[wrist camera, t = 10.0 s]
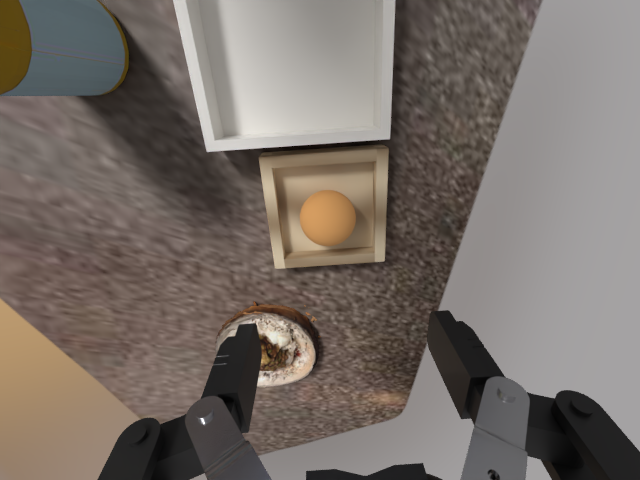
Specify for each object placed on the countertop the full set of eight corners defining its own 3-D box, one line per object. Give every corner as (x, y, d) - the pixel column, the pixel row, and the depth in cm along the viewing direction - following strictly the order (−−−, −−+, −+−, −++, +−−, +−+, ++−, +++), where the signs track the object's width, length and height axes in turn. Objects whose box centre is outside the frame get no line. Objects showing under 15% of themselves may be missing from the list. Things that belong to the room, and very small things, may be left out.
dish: (174, -75, 21) (149, -105, 18) (386, -90, 21) (399, -124, 17) (218, 145, 27) (206, 151, 24) (380, 133, 27) (390, 139, 24)
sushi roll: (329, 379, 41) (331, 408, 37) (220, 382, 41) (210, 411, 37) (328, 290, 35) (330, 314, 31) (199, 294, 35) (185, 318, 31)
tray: (262, 152, 27) (258, 157, 25) (382, 144, 27) (388, 148, 25) (277, 257, 32) (275, 268, 30) (379, 250, 32) (384, 261, 30)
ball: (298, 185, 28) (295, 202, 24) (351, 181, 28) (359, 198, 23) (302, 233, 30) (301, 258, 26) (352, 230, 30) (359, 254, 26)
